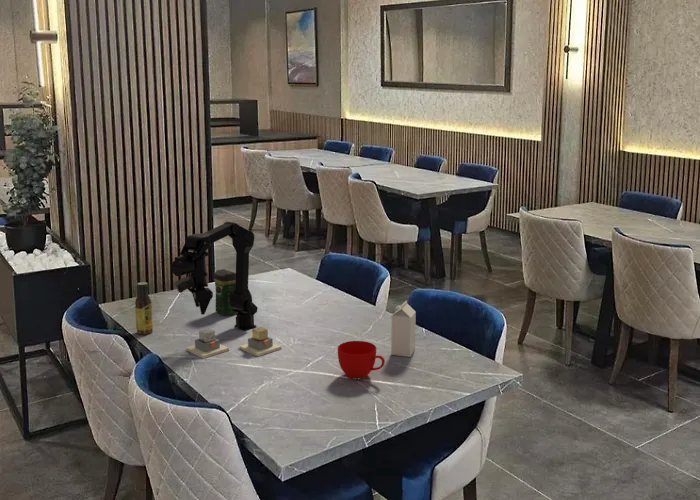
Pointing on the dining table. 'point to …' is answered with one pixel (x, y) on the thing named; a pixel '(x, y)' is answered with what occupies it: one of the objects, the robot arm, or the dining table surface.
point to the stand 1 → (207, 348)
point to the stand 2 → (260, 346)
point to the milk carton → (403, 331)
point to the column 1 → (207, 335)
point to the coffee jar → (224, 291)
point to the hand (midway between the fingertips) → (200, 310)
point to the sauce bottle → (143, 310)
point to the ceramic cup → (358, 358)
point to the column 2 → (260, 334)
